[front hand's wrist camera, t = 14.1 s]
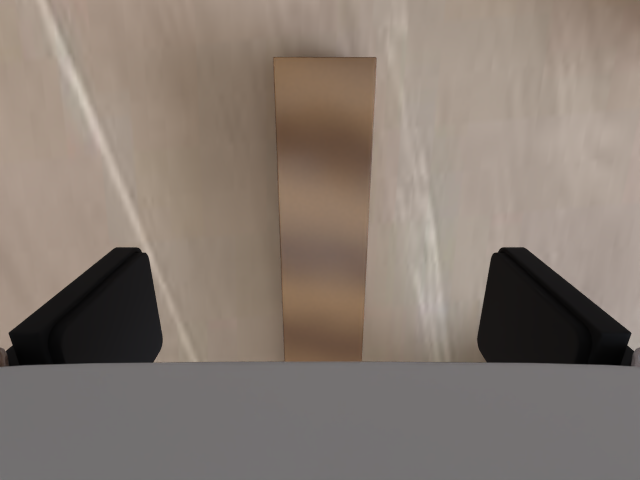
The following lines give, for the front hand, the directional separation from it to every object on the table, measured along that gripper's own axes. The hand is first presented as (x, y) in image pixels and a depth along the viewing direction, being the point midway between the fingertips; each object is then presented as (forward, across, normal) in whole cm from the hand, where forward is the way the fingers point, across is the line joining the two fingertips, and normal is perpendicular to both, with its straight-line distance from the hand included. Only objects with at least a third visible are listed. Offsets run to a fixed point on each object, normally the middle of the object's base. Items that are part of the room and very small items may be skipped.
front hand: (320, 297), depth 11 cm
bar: (+23, 0, +34) cm, 41 cm away
